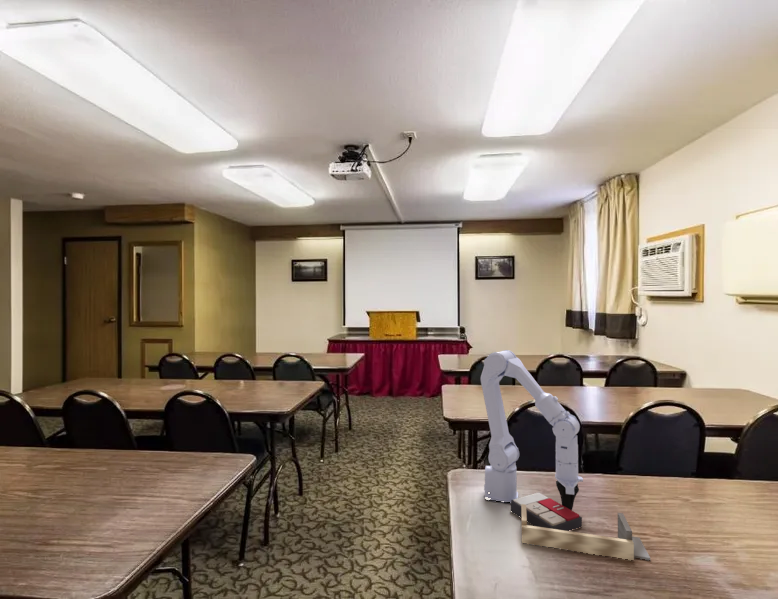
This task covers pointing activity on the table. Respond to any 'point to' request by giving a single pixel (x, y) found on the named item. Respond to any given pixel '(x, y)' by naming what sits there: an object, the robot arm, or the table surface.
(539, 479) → the table surface
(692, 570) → the table surface
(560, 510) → the calculator
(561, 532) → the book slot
